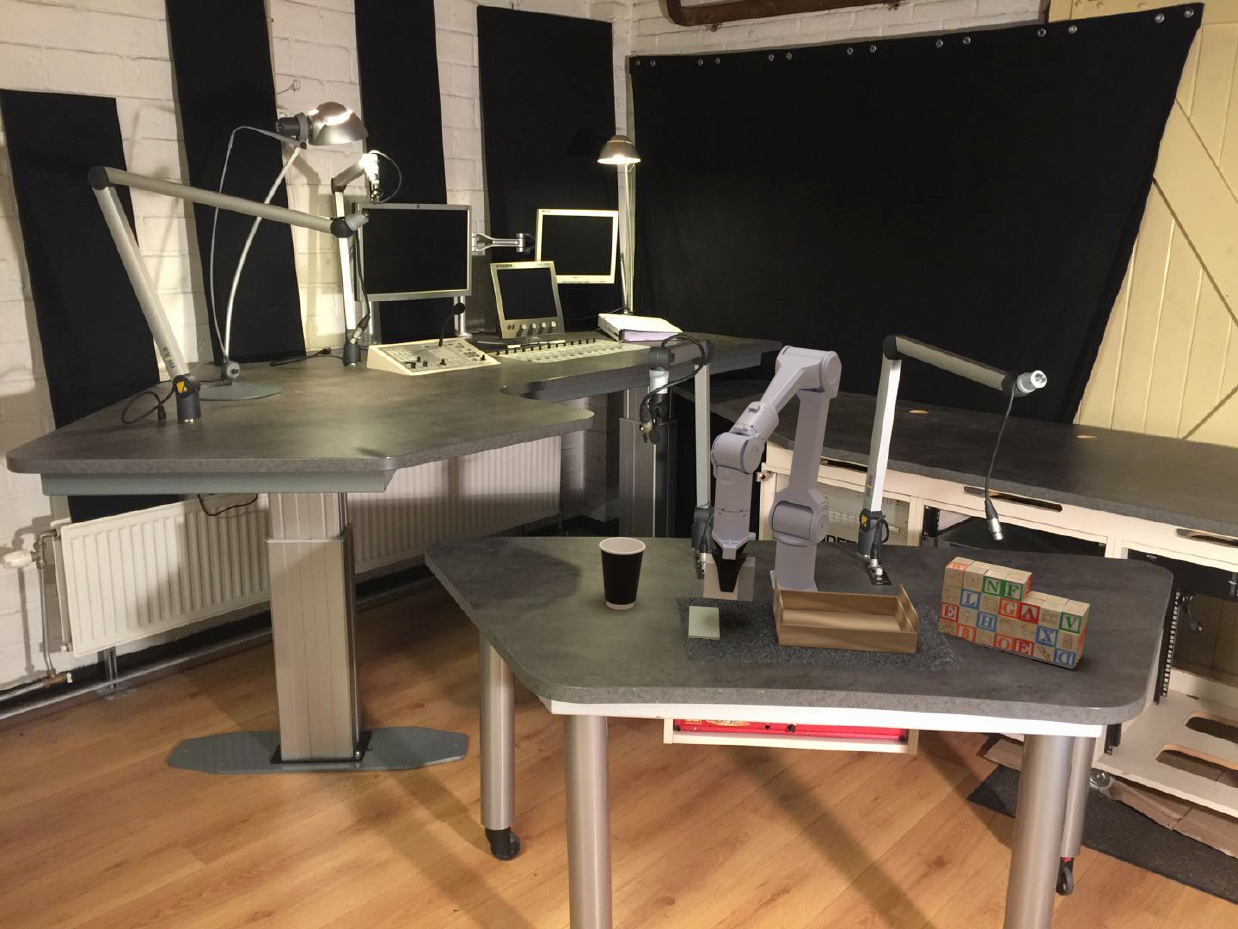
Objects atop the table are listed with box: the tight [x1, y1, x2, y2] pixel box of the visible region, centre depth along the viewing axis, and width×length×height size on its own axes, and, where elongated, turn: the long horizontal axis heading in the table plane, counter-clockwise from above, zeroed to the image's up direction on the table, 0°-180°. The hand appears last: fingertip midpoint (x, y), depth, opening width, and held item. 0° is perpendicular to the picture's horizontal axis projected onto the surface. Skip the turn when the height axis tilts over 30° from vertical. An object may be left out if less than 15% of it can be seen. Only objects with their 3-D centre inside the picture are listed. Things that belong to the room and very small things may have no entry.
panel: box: [687, 605, 721, 641], centre depth 166 cm, size 12×12×1 cm
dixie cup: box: [598, 536, 646, 611], centre depth 171 cm, size 8×8×11 cm
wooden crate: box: [772, 576, 919, 655], centre depth 164 cm, size 15×21×6 cm
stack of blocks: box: [937, 556, 1091, 668], centre depth 160 cm, size 21×6×12 cm, turn 55°
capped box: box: [702, 553, 756, 602], centre depth 163 cm, size 4×8×6 cm, turn 82°
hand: (727, 585), depth 164 cm, fingers closed on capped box, 4 cm apart
